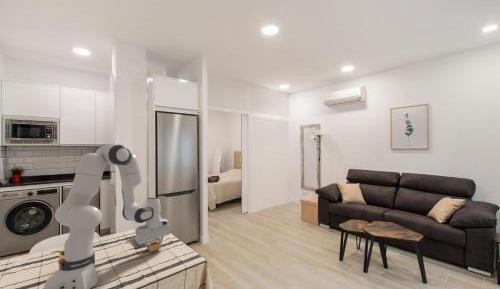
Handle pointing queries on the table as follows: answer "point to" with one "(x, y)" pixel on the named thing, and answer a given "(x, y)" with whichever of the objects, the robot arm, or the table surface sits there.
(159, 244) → the orange hollow block
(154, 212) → the robot arm
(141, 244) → the tray
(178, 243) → the table surface
